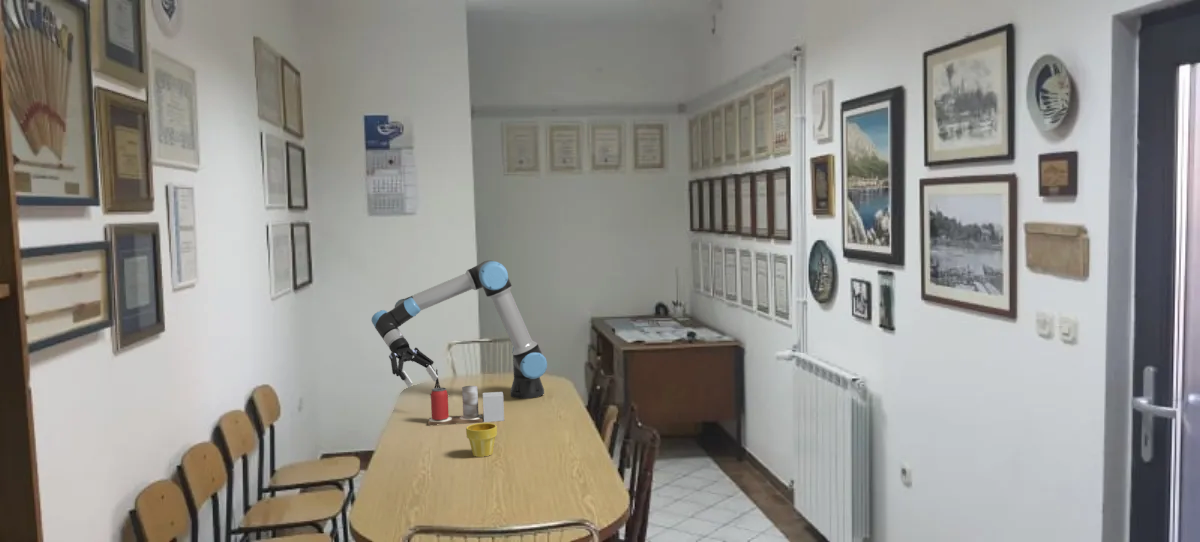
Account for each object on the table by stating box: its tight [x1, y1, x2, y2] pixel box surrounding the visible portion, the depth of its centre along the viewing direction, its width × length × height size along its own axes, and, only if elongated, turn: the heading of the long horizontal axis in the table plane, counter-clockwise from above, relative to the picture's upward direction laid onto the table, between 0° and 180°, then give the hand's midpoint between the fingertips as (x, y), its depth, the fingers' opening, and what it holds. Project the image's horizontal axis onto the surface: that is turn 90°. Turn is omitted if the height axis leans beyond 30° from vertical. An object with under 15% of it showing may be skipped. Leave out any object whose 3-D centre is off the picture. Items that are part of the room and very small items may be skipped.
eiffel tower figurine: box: [433, 367, 442, 389], centre depth 395 cm, size 15×10×13 cm
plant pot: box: [465, 422, 498, 458], centre depth 294 cm, size 10×10×10 cm
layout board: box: [427, 385, 484, 426], centre depth 342 cm, size 21×9×13 cm, turn 98°
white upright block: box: [482, 391, 505, 423], centre depth 345 cm, size 8×8×10 cm
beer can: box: [430, 387, 450, 421], centre depth 342 cm, size 7×7×12 cm
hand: (423, 382), depth 346 cm, fingers open, 13 cm apart
